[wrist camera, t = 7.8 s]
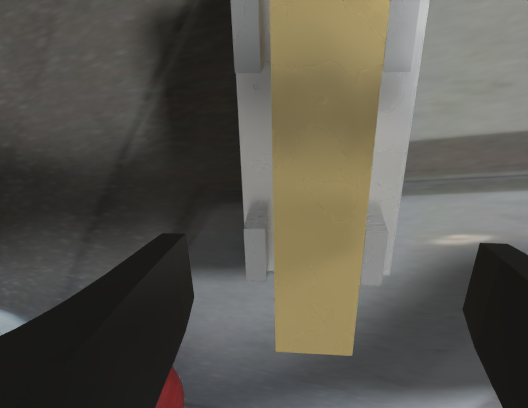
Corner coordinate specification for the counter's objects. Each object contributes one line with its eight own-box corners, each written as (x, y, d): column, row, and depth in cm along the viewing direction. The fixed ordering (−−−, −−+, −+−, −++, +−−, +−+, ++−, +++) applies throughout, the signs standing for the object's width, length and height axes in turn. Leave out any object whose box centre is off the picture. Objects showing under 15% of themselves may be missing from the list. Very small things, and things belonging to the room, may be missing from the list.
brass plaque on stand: (341, 264, 21) (352, 356, 16) (283, 262, 22) (275, 351, 16) (362, -20, 15) (392, -26, 10) (282, -18, 16) (269, -22, 10)
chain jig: (388, 270, 22) (394, 294, 20) (247, 265, 22) (243, 288, 21) (431, -36, 15) (447, -39, 13) (232, -29, 16) (223, -31, 14)
